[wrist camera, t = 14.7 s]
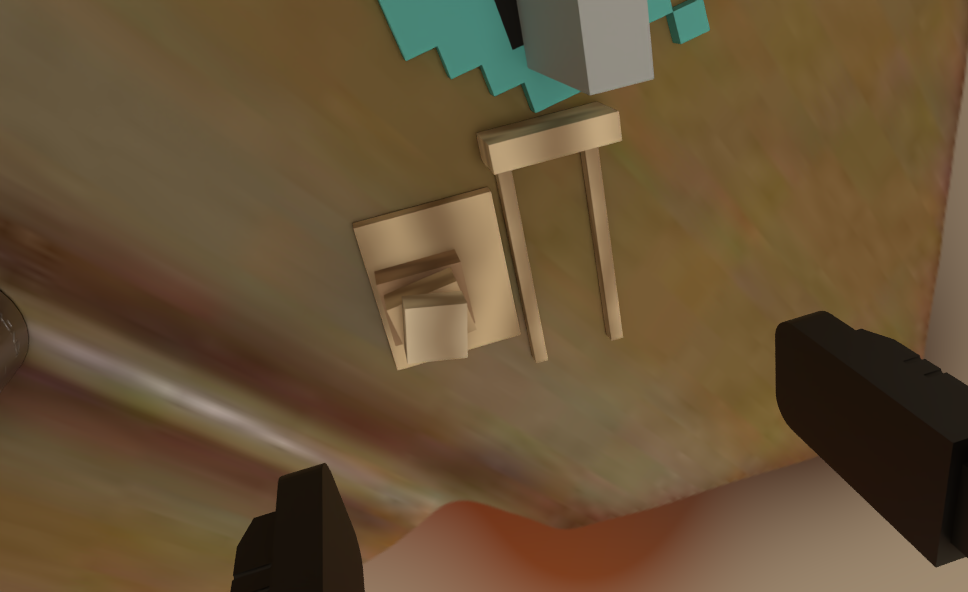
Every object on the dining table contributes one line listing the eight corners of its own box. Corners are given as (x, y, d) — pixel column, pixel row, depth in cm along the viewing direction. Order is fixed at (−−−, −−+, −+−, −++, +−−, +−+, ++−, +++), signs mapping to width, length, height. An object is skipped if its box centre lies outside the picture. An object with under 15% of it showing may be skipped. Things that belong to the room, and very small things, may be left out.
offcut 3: (404, 349, 47) (407, 364, 45) (401, 296, 45) (404, 309, 43) (462, 343, 47) (467, 357, 46) (461, 290, 46) (467, 303, 44)
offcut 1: (392, 330, 52) (395, 346, 49) (373, 271, 49) (376, 285, 47) (468, 308, 52) (475, 323, 50) (454, 249, 50) (460, 261, 48)
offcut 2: (405, 341, 49) (409, 358, 47) (383, 295, 47) (386, 310, 45) (469, 313, 49) (476, 329, 47) (450, 267, 48) (456, 281, 45)
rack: (405, 393, 55) (411, 421, 52) (335, 169, 47) (337, 185, 43) (625, 328, 57) (645, 351, 54) (597, 101, 49) (618, 111, 45)
